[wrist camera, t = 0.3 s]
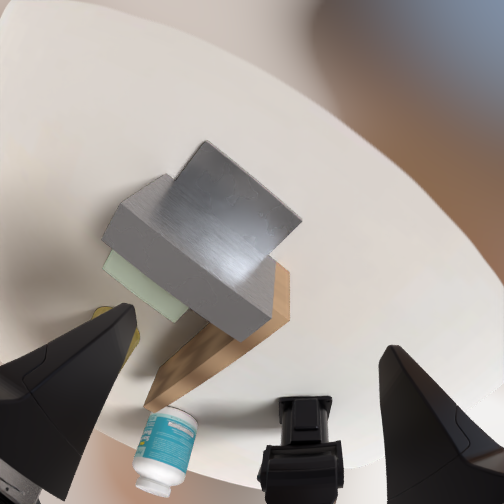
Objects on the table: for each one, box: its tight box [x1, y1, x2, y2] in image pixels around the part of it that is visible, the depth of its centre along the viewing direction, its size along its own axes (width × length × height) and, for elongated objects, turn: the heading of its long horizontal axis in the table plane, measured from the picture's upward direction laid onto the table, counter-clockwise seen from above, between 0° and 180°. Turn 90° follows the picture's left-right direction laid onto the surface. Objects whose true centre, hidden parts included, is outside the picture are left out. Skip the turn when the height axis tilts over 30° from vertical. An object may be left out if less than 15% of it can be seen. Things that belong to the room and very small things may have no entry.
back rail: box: [143, 262, 290, 413], centre depth 25 cm, size 20×2×6 cm, turn 140°
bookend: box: [101, 140, 302, 343], centre depth 19 cm, size 7×11×7 cm, turn 50°
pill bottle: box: [133, 406, 198, 497], centre depth 32 cm, size 8×7×14 cm
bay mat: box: [102, 249, 189, 323], centre depth 25 cm, size 9×9×1 cm
